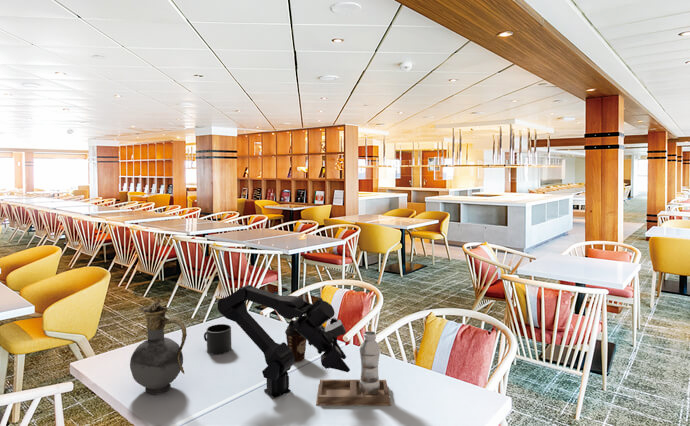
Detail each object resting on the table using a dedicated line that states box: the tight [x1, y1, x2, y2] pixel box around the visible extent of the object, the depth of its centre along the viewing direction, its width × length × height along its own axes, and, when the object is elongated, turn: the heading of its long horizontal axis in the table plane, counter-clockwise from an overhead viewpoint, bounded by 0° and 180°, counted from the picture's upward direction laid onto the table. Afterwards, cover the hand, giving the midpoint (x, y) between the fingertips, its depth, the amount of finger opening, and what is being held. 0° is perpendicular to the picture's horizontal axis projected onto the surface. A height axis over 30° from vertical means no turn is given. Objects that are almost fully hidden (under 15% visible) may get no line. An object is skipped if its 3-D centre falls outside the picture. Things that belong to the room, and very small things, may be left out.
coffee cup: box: [284, 325, 307, 363], centre depth 163 cm, size 9×8×13 cm
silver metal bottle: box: [359, 330, 381, 395], centre depth 136 cm, size 6×7×20 cm
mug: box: [203, 323, 232, 355], centre depth 172 cm, size 9×12×9 cm
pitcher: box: [129, 299, 188, 395], centre depth 139 cm, size 11×19×30 cm, turn 75°
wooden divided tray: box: [315, 379, 392, 407], centre depth 137 cm, size 23×12×2 cm, turn 90°
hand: (347, 364), depth 135 cm, fingers open, 9 cm apart
